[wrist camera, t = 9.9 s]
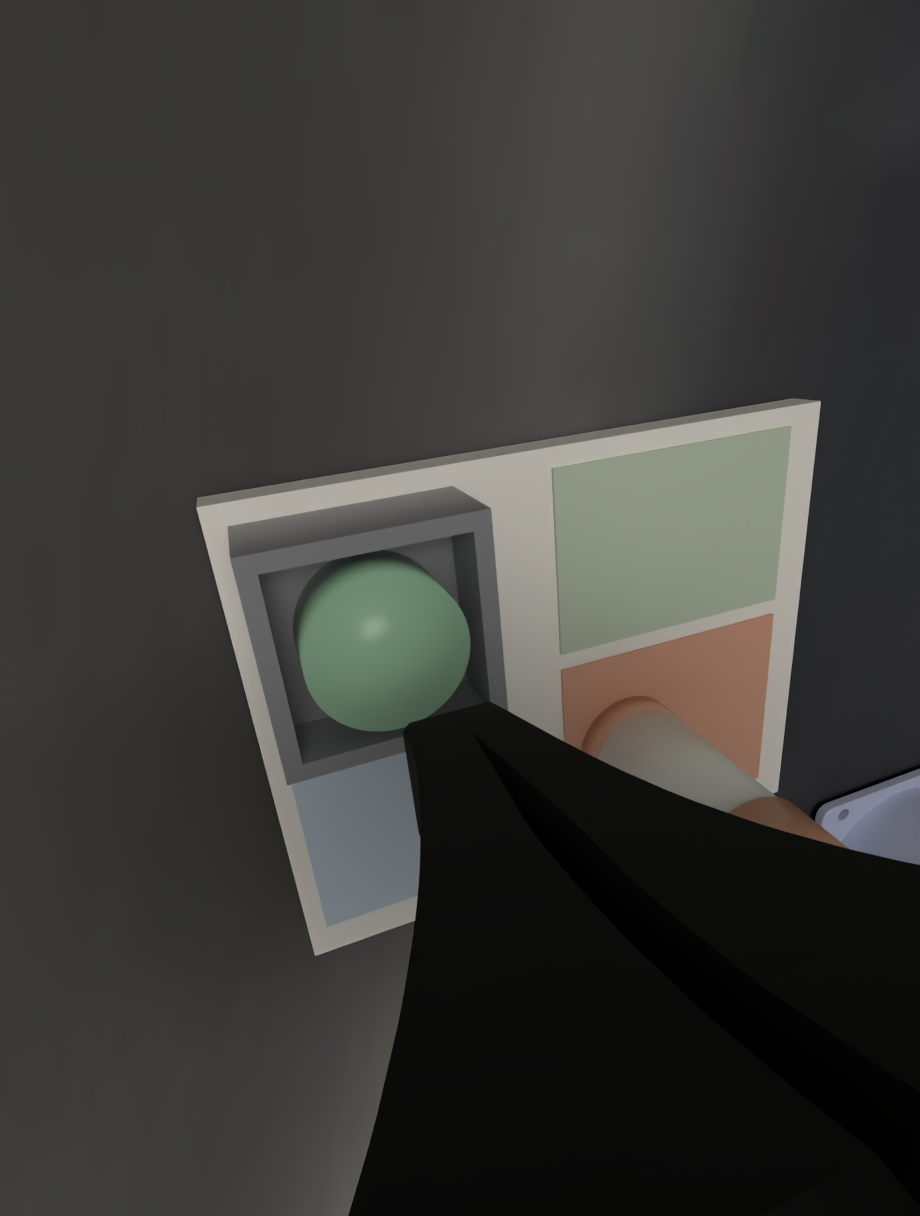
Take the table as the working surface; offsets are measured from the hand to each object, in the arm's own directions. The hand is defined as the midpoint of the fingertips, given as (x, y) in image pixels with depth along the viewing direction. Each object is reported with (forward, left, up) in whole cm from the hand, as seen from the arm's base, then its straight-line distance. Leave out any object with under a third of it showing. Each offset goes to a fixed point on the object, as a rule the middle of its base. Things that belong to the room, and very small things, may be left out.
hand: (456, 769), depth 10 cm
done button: (0, 0, -6) cm, 6 cm away
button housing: (0, 0, -7) cm, 7 cm away
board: (-5, +3, -8) cm, 10 cm away
